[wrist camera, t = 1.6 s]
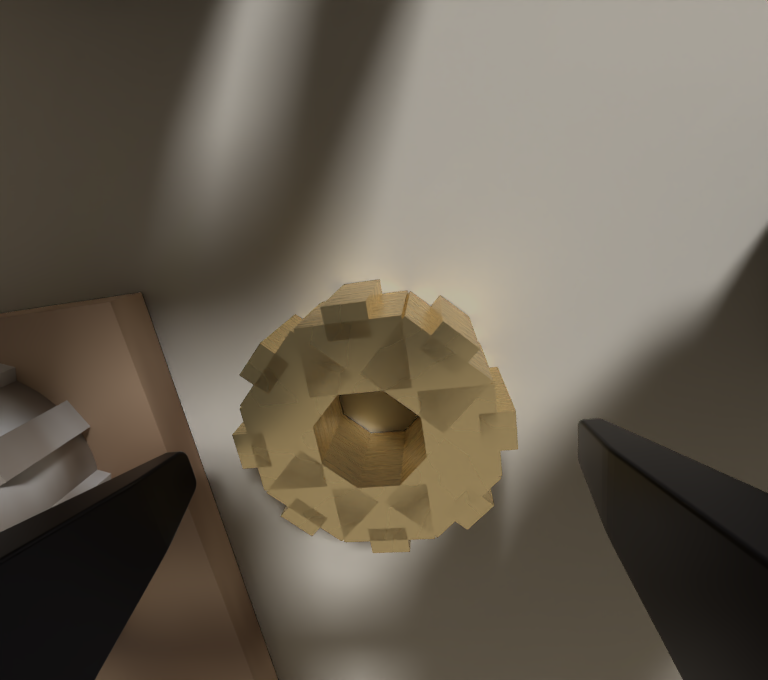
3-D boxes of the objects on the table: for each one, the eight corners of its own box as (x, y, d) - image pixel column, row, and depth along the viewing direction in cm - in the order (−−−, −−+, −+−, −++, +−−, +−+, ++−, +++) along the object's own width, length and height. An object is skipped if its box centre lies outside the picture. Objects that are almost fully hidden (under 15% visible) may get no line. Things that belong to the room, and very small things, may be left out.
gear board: (-152, 336, 13) (-398, 392, 9) (141, 292, 12) (-8, 338, 8) (112, 771, 21) (37, 905, 17) (314, 783, 19) (284, 936, 15)
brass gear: (489, 264, 10) (507, 282, 8) (506, 481, 12) (524, 547, 10) (245, 298, 11) (196, 323, 9) (298, 494, 13) (270, 556, 11)
